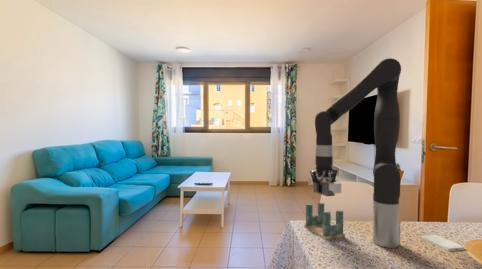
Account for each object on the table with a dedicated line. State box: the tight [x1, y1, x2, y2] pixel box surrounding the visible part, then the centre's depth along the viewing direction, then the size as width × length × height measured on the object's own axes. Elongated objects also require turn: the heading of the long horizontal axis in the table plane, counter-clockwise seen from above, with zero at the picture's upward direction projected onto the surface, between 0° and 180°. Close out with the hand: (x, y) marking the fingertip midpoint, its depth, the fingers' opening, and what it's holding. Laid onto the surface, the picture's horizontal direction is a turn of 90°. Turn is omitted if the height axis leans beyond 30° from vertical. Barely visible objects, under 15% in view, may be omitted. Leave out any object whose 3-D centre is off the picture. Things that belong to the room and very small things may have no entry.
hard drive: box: [420, 234, 465, 252], centre depth 105 cm, size 2×8×12 cm
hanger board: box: [304, 202, 346, 241], centre depth 117 cm, size 10×16×11 cm, turn 20°
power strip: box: [307, 176, 342, 197], centre depth 117 cm, size 4×19×6 cm, turn 20°
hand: (323, 192), depth 117 cm, fingers closed on power strip, 4 cm apart
